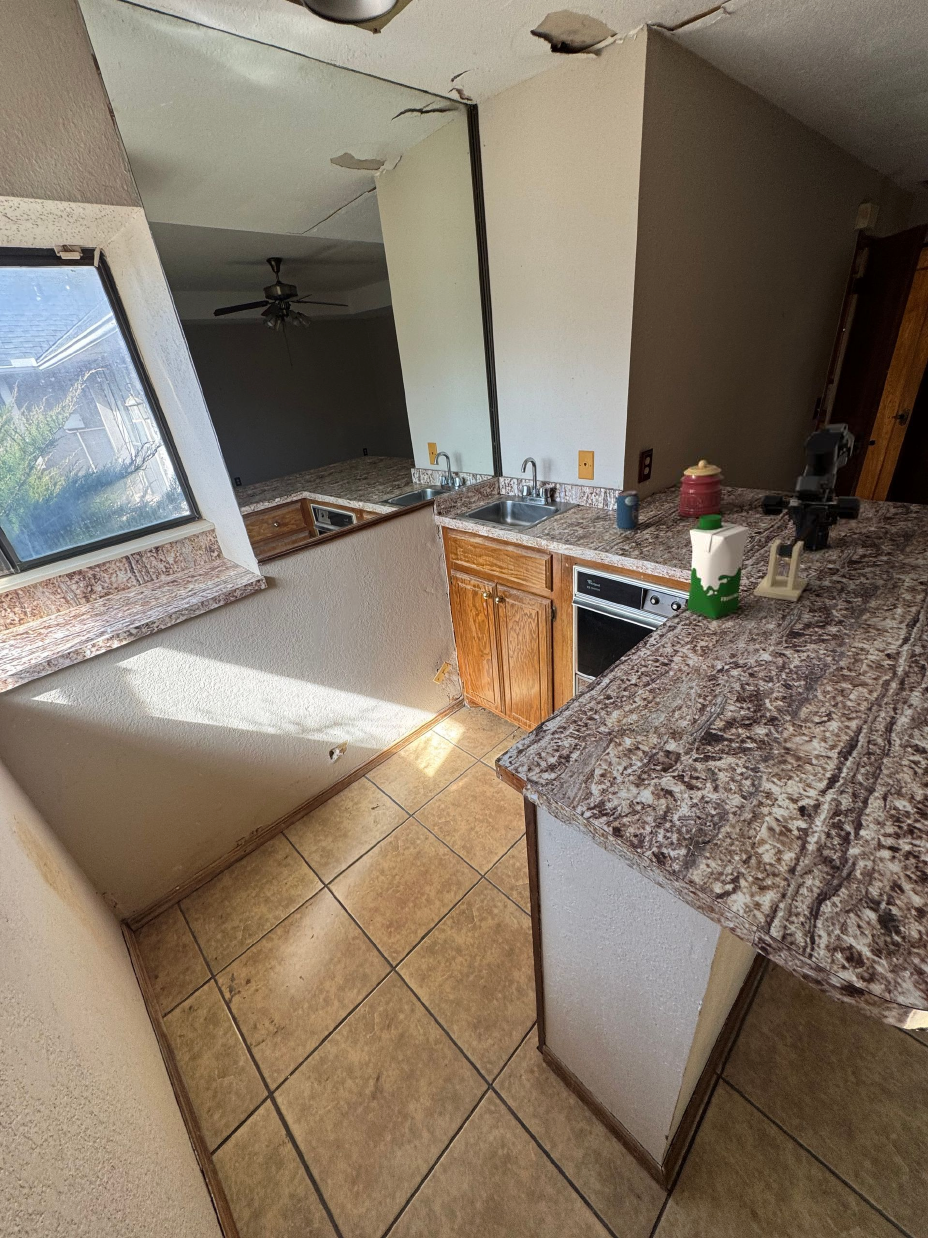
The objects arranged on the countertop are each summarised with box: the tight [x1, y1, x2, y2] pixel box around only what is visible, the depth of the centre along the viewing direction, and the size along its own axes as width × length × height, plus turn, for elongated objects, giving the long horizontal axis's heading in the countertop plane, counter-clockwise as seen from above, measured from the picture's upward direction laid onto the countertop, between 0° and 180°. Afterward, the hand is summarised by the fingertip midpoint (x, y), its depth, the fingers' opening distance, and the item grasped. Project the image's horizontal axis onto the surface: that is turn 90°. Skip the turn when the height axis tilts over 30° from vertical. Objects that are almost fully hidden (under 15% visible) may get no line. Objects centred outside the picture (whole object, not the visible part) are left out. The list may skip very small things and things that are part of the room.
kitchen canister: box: [678, 459, 725, 518], centre depth 162 cm, size 13×13×18 cm
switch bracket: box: [753, 539, 808, 602], centre depth 104 cm, size 10×8×11 cm
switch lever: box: [778, 544, 803, 566], centre depth 106 cm, size 12×4×4 cm, turn 136°
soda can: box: [616, 490, 640, 532], centre depth 159 cm, size 7×7×12 cm
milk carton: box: [686, 514, 750, 620], centre depth 99 cm, size 9×9×20 cm
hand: (798, 539), depth 110 cm, fingers closed
